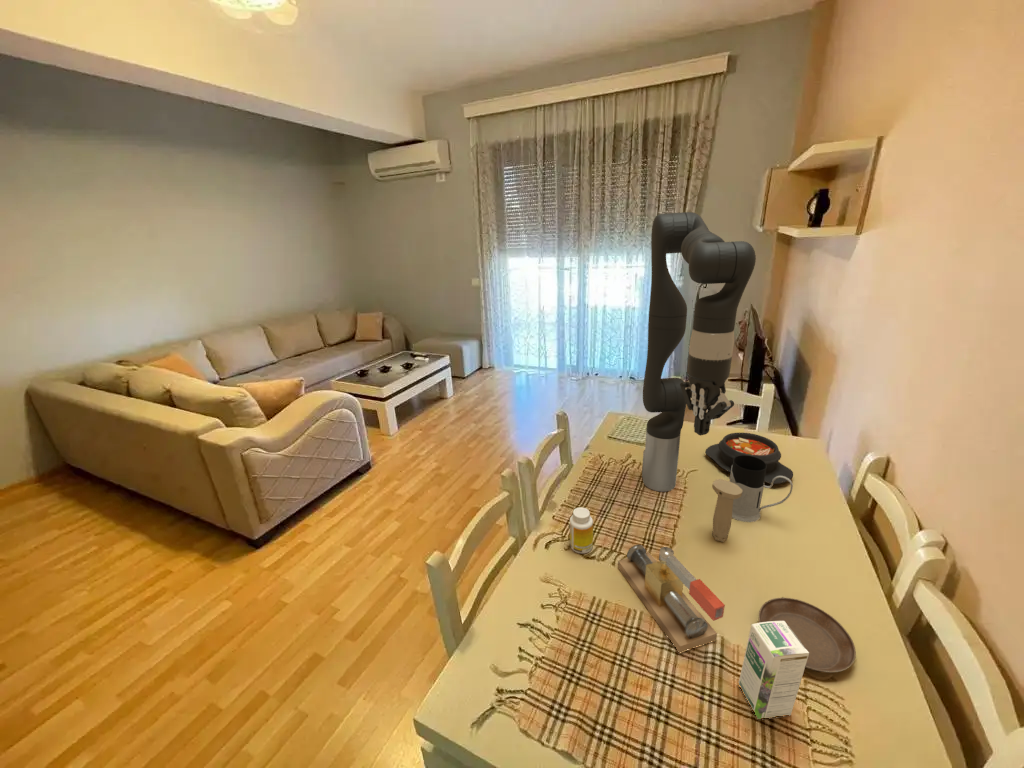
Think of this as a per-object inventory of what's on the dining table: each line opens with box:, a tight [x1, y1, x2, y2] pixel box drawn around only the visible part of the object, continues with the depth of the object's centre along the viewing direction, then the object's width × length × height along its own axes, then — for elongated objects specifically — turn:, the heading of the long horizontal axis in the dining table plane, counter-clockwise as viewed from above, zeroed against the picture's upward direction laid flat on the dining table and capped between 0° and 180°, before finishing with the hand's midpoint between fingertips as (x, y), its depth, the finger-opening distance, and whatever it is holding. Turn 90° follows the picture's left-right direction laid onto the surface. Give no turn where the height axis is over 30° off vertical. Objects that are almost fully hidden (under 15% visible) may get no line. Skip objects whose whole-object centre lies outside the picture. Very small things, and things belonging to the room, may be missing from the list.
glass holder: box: [728, 455, 794, 523], centre depth 108 cm, size 9×14×15 cm, turn 50°
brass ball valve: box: [626, 544, 708, 639], centre depth 86 cm, size 21×5×9 cm, turn 16°
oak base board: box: [617, 551, 718, 654], centre depth 88 cm, size 22×8×2 cm, turn 16°
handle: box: [711, 478, 742, 543], centre depth 101 cm, size 5×6×15 cm
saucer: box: [758, 597, 857, 673], centre depth 78 cm, size 15×15×3 cm
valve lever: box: [658, 546, 726, 621], centre depth 78 cm, size 15×3×3 cm, turn 18°
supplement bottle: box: [569, 507, 594, 554], centre depth 102 cm, size 6×6×10 cm
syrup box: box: [738, 621, 809, 720], centre depth 67 cm, size 6×6×14 cm
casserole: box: [705, 432, 794, 485], centre depth 130 cm, size 25×19×8 cm
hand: (700, 433), depth 86 cm, fingers closed
